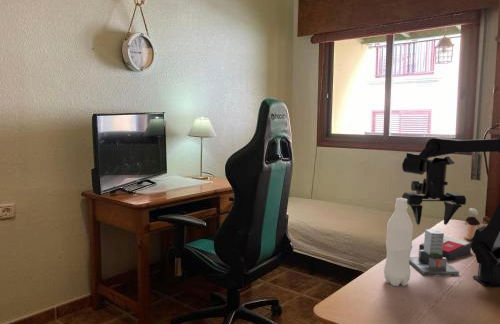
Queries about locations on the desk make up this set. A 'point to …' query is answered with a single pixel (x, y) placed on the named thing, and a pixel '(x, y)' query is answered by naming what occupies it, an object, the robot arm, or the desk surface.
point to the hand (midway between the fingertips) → (431, 224)
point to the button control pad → (453, 248)
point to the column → (433, 241)
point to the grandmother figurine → (471, 223)
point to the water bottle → (398, 245)
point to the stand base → (432, 264)
